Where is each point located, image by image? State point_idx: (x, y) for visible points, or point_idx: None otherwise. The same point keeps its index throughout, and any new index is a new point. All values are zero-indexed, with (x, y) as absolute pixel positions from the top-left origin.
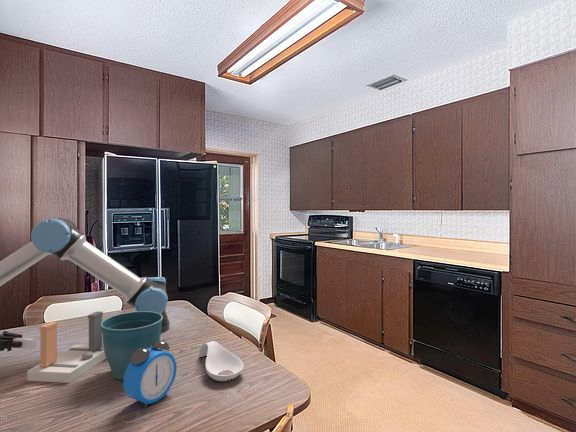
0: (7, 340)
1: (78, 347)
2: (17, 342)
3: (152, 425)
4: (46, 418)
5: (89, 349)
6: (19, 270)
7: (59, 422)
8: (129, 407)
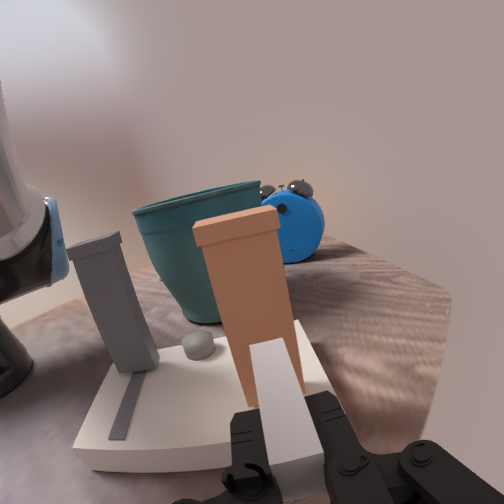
0: (358, 479)
1: (103, 424)
2: (324, 408)
3: (335, 240)
4: (400, 283)
5: (154, 362)
6: None
7: (392, 271)
8: (321, 259)
